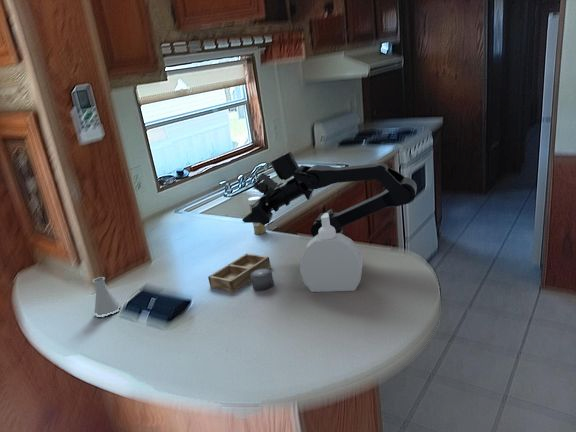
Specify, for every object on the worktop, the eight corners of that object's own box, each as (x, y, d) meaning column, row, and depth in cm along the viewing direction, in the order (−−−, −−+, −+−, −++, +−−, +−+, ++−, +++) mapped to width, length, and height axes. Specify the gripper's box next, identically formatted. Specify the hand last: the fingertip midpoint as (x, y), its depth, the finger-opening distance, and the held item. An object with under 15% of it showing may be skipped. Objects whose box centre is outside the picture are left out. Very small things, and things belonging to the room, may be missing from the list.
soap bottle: (365, 281, 125) (357, 210, 119) (363, 291, 120) (356, 217, 114) (306, 283, 129) (296, 215, 123) (302, 292, 124) (292, 221, 118)
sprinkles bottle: (268, 231, 175) (262, 197, 171) (257, 235, 172) (251, 200, 168) (262, 229, 178) (256, 195, 174) (251, 232, 176) (245, 198, 172)
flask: (95, 321, 126) (85, 288, 123) (93, 311, 132) (83, 279, 129) (123, 312, 129) (113, 279, 126) (119, 302, 135) (110, 271, 132)
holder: (270, 266, 144) (268, 256, 143) (233, 292, 131) (231, 281, 130) (248, 263, 149) (246, 253, 148) (210, 287, 136) (208, 276, 135)
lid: (278, 283, 132) (276, 269, 131) (265, 292, 128) (262, 278, 127) (261, 279, 136) (259, 266, 135) (248, 289, 131) (245, 275, 130)
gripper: (281, 158, 144) (242, 181, 151) (263, 181, 128) (221, 206, 135) (300, 187, 147) (262, 209, 154) (286, 214, 131) (244, 236, 138)
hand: (248, 214), depth 145 cm, fingers open, 9 cm apart
